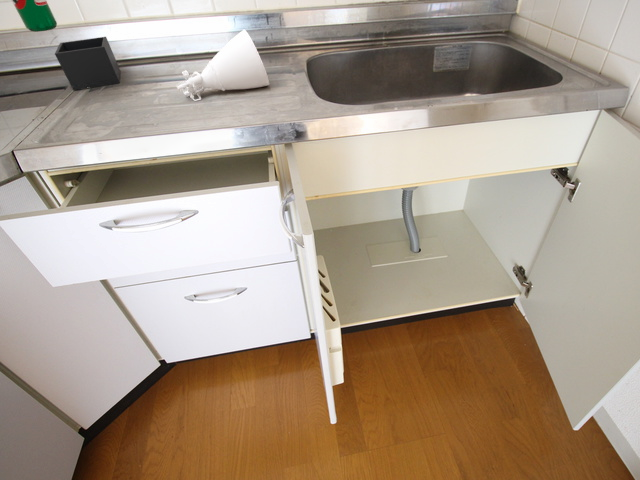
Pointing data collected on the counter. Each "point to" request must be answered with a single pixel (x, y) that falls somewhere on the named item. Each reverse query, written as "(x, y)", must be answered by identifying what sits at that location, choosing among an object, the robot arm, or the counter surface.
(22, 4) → the soda can
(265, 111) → the counter surface
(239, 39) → the rocket engine
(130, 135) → the counter surface
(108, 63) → the bin
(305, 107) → the counter surface
